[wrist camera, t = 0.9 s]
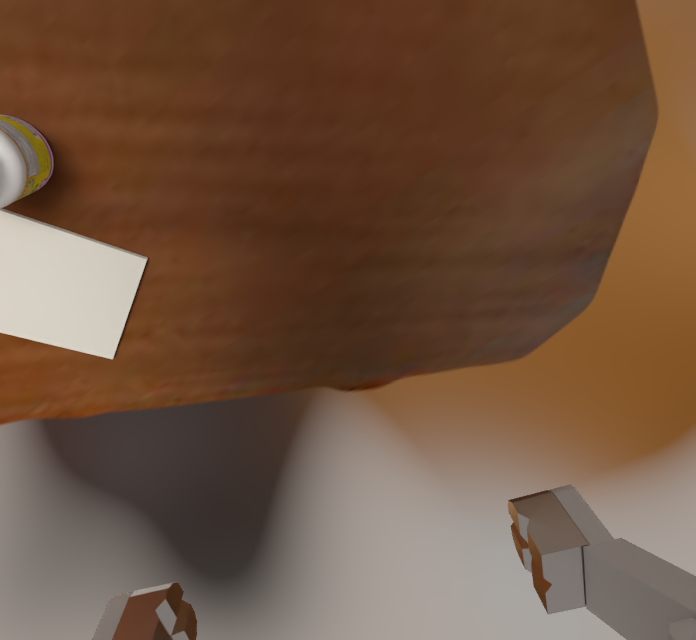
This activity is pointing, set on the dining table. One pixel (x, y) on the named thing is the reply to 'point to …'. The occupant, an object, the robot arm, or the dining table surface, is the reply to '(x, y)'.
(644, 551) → the robot arm
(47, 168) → the supplement bottle
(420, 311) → the dining table surface
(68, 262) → the off-white mat
